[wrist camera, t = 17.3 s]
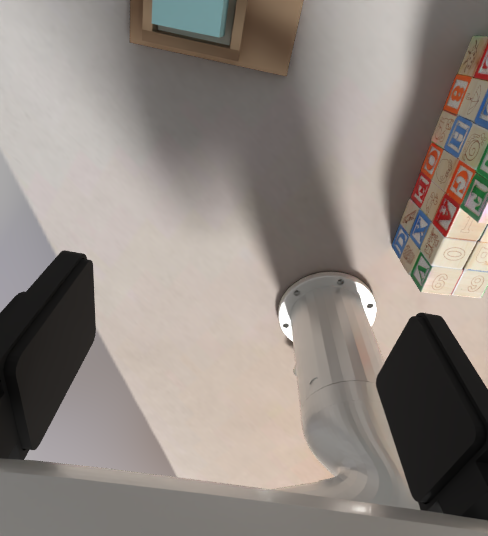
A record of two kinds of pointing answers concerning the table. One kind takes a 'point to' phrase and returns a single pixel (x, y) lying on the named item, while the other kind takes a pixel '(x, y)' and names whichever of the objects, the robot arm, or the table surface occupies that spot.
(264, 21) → the chassis
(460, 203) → the stack of blocks
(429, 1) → the table surface
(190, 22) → the teal nearly cubic block
